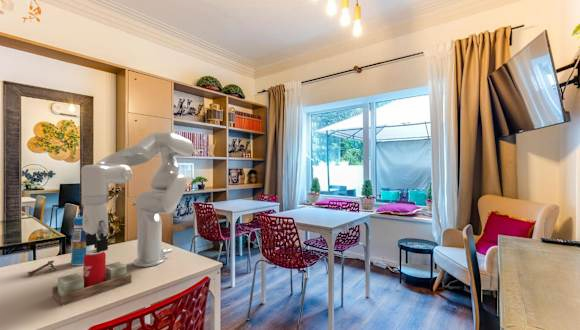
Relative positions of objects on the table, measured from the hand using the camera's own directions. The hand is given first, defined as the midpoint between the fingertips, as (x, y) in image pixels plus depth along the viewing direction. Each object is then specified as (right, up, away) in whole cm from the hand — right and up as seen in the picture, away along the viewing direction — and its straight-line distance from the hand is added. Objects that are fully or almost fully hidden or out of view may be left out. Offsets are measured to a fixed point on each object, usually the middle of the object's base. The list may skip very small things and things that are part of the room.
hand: (96, 247), depth 92 cm
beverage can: (0, -13, -1) cm, 13 cm away
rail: (0, -14, -1) cm, 14 cm away
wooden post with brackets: (-30, -14, +11) cm, 35 cm away
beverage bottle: (-23, -14, +23) cm, 35 cm away
